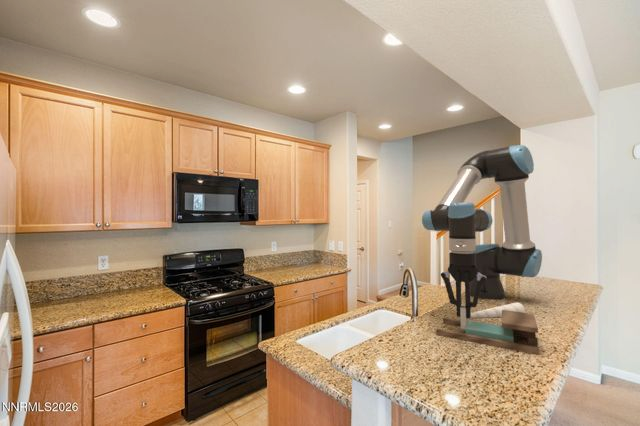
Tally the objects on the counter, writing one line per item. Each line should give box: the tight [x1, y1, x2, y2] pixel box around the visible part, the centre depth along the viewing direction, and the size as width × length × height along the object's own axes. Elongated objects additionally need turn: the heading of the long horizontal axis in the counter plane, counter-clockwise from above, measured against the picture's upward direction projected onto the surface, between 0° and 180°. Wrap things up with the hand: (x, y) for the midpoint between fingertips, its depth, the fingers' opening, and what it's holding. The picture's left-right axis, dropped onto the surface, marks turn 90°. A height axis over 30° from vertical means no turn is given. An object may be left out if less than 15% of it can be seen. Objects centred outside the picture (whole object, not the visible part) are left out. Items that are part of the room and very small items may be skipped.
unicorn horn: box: [458, 302, 526, 319], centre depth 104 cm, size 5×24×5 cm, turn 92°
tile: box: [464, 319, 515, 343], centre depth 86 cm, size 12×8×3 cm, turn 57°
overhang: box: [436, 310, 540, 356], centre depth 87 cm, size 25×14×7 cm, turn 57°
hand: (463, 327), depth 89 cm, fingers closed
